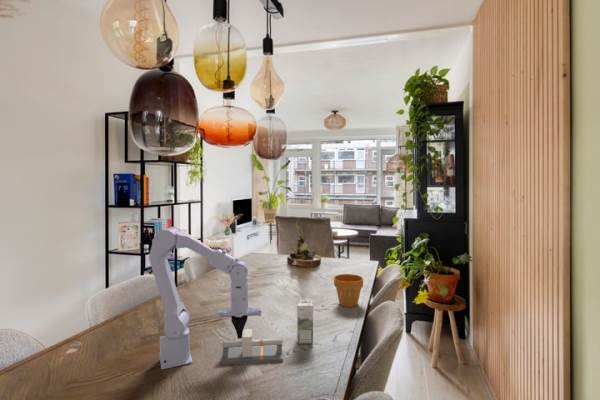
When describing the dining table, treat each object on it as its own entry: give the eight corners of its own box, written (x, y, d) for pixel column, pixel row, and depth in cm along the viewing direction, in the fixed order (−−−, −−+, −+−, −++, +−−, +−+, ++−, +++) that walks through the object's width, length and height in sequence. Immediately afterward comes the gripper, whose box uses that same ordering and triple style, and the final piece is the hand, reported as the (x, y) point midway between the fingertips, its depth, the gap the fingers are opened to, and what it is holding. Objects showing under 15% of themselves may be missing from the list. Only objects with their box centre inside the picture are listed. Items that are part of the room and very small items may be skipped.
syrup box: (312, 336, 126) (311, 299, 126) (313, 344, 120) (313, 305, 120) (297, 337, 126) (297, 299, 125) (297, 344, 120) (297, 305, 119)
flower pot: (363, 310, 153) (363, 282, 153) (332, 308, 156) (332, 281, 156) (363, 300, 167) (363, 274, 167) (335, 298, 170) (335, 273, 170)
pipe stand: (221, 365, 106) (220, 348, 106) (224, 351, 115) (224, 335, 115) (283, 361, 108) (282, 344, 108) (281, 348, 117) (281, 332, 117)
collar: (242, 357, 108) (242, 337, 108) (243, 348, 114) (243, 329, 114) (251, 356, 109) (251, 336, 109) (252, 347, 115) (252, 329, 114)
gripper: (215, 302, 106) (216, 344, 106) (260, 300, 107) (261, 341, 108) (218, 295, 113) (219, 334, 113) (261, 293, 114) (261, 332, 115)
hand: (239, 337), depth 111 cm, fingers closed
